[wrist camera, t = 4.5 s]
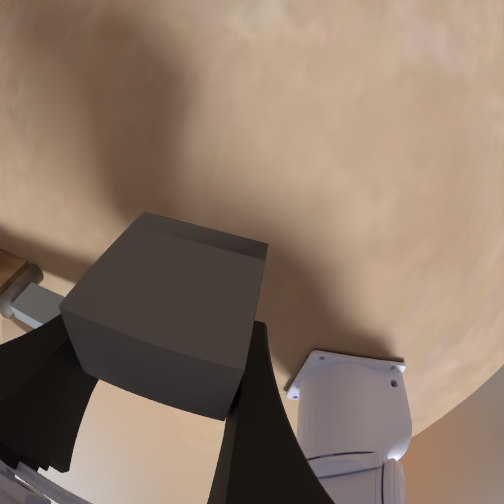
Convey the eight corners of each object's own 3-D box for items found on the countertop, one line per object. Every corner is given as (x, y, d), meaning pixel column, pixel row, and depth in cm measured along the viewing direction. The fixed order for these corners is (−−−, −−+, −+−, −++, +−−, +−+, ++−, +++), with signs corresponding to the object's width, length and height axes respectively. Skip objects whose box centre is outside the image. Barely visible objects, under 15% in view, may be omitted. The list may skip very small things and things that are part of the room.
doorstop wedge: (143, 212, 10) (58, 305, 6) (268, 243, 10) (244, 370, 6) (149, 366, 15) (119, 438, 11) (223, 388, 15) (205, 466, 11)
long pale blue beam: (226, 350, 21) (216, 389, 18) (223, 361, 21) (214, 398, 19) (31, 282, 21) (10, 305, 18) (35, 293, 22) (15, 317, 19)
